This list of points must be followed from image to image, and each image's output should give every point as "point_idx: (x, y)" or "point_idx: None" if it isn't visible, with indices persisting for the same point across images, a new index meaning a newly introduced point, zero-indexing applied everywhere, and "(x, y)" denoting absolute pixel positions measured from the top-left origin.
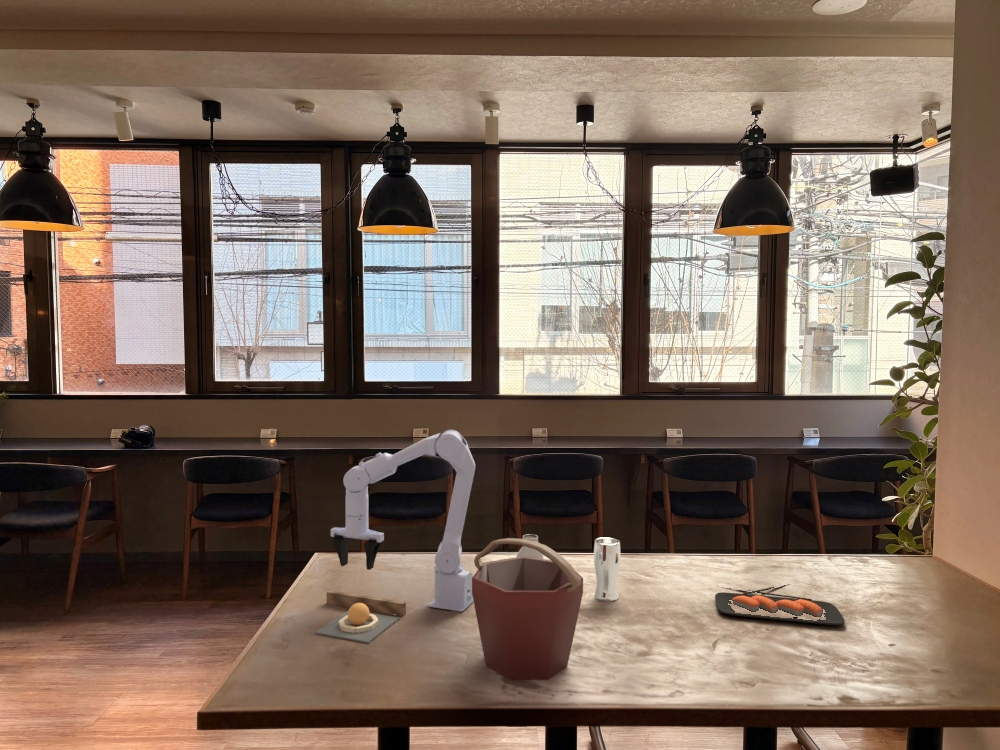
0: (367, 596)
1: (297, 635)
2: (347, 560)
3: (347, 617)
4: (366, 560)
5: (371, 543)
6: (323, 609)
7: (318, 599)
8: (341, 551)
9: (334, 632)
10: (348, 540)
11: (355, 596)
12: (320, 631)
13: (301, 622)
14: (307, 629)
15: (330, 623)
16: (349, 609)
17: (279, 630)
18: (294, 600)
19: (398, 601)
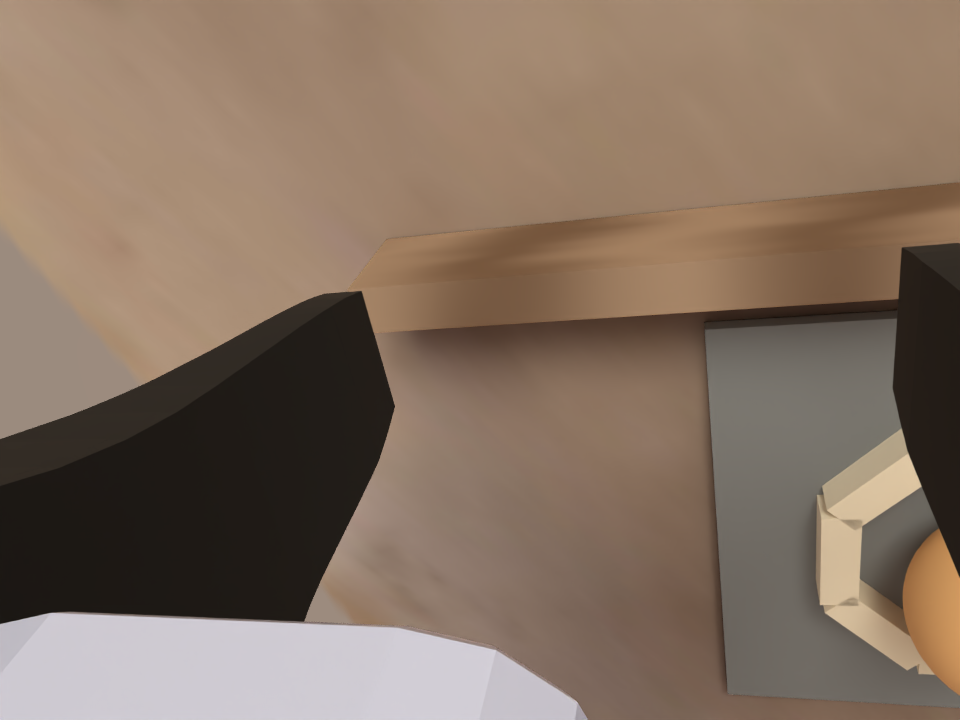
0: (868, 251)
1: (635, 716)
2: (339, 318)
3: (857, 550)
4: (955, 553)
5: None
6: (469, 379)
7: (258, 232)
8: (287, 619)
9: (866, 675)
10: (70, 533)
11: (722, 306)
12: (756, 683)
13: (511, 589)
14: (629, 650)
15: (737, 583)
16: (950, 688)
17: None
18: (134, 331)
19: None
